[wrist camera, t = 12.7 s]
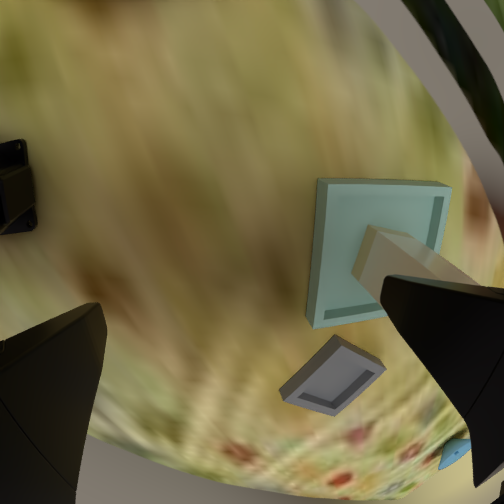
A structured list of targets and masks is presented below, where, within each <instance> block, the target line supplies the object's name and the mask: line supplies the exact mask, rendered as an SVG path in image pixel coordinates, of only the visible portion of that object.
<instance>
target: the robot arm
mask: <svg viewBox="0 0 504 504" xmlns="http://www.w3.org/2000/svg"><path fill="white" fill-rule="evenodd" d="M18 143H19V144H20V149H18V148H17V144H18ZM34 203H35V198H34V192H33V185H32V178H31V171H30V167H29V166H28V161H27V151H26V143H25V141H24V140H23V139H17V140H13V141H9V142H5V143H1V144H0V235H5V234H12V233H20V232H28V231H32V230H34V229H35V228H36V227H37V218H36V213H35V208H34ZM29 221H31V222H32V226H31V225H29ZM380 303H381V305H382V307H383V309H384V310H385V312H386V313H387V315H388V317H389V318H390V320H391V321H392V323H393V324H394V326H395V328H396V329H397V331H398V332H399V334H400V335H401V336H402V338H403V339H404V340H405V341H406V343H407V344H408V345H409V347H410V348H411V349H412V350H413V352H414V353H415V354H416V356H417V357H418V358H419V359H420V361H421V362H422V363H423V365H424V366H425V367H426V369H427V370H428V371H429V373H430V374H431V375H432V377H433V378H434V379H435V381H436V382H437V383H438V385H439V386H440V387H441V389H442V390H443V391H444V393H445V394H446V396H447V397H448V398H449V400H450V401H451V402H452V404H453V405H454V407H455V408H456V409H457V411H458V412H459V414H460V415H461V416H462V418H463V419H464V421H465V422H466V424H467V426H468V429H469V433H470V441H471V451H472V463H473V482H474V486H475V488H477V487H478V486H480V485H481V484H482V483H484V482H485V481H487V480H488V479H490V478H491V477H492V476H494V475H495V474H496V473H498V472H499V471H500V470H502V469H503V468H504V288H496V287H485V286H478V285H471V284H463V283H456V282H449V281H441V280H434V279H427V278H419V277H412V276H405V275H397V274H394V275H387V276H386V277H385V278H384V280H383V285H382V289H381V294H380ZM106 339H107V325H106V321H105V318H104V314H103V311H102V307H101V305H100V303H98V302H95V303H86V304H84V305H81V306H79V307H77V308H75V309H72V310H70V311H68V312H66V313H63V314H61V315H59V316H57V317H54V318H52V319H50V320H48V321H45V322H43V323H41V324H39V325H36V326H34V327H32V328H30V329H28V330H25V331H23V332H21V333H19V334H17V335H14V336H12V337H10V338H8V339H6V340H5V341H4V340H2V341H0V504H75V499H76V492H75V491H76V490H77V483H78V477H79V471H80V465H81V460H82V455H83V449H84V444H85V440H86V435H87V430H88V425H89V421H90V417H91V412H92V408H93V404H94V400H95V396H96V392H97V388H98V384H99V380H100V376H101V372H102V367H103V360H104V353H105V346H106ZM491 504H504V481H503V482H502V483H501V490H500V496H499V498H497V499H496V500H495V501H494V502H492V503H491Z"/></svg>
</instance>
